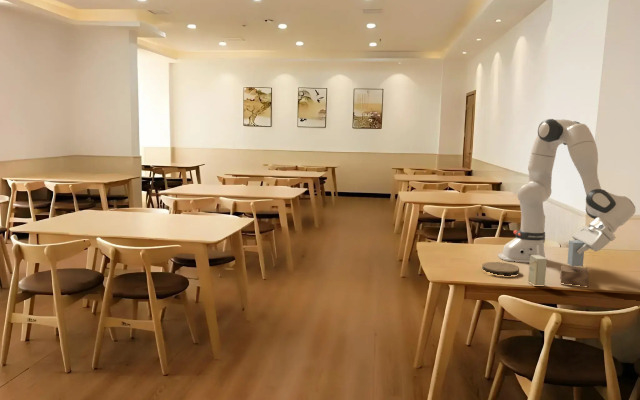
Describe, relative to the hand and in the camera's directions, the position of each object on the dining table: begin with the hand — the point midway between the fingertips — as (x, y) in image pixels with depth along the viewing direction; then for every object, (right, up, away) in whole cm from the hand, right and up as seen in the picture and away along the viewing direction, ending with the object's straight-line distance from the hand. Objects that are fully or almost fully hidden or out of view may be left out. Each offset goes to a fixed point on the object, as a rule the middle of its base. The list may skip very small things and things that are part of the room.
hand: (574, 251), depth 212 cm
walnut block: (+1, -14, +2) cm, 14 cm away
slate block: (+1, -6, +1) cm, 6 cm away
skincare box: (-17, -14, -2) cm, 22 cm away
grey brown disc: (-25, -12, +17) cm, 33 cm away
